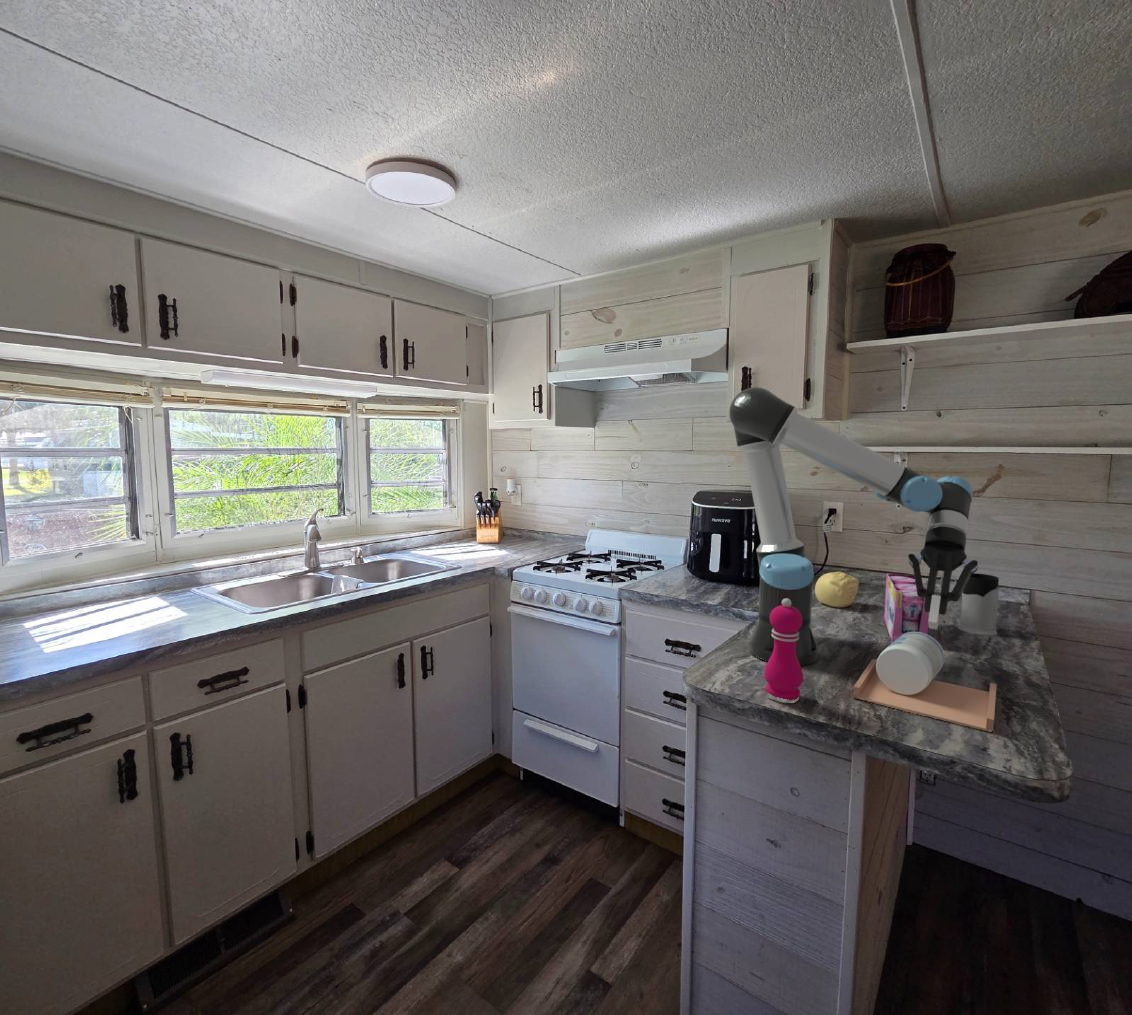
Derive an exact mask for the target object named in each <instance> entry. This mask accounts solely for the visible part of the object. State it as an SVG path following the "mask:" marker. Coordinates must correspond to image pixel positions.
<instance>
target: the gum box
mask: <svg viewBox="0 0 1132 1015" xmlns="http://www.w3.org/2000/svg"><path fill="white" fill-rule="evenodd" d="M923 588H924V589H927V586H925V585H924V584H923ZM884 598H885V599H884V616H883V618H884V622H885V625H886V628H887V631H888V633H889V636H890V639H891V642H894V641H895V640H896V639H898V638H899V637H900V636H901V635H903V634H905V633H908V632H921V633H925V634H927V635H928V630H929V625H928V619H929V613H930V612H925V610H924V604H925V598H924V597H919V596H918V595H917V589H916V583H915V577H914V574H913V575H911V574H901V573H900V574H899V573H886V579H885V597H884Z"/></svg>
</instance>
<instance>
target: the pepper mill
mask: <svg viewBox="0 0 1132 1015" xmlns="http://www.w3.org/2000/svg"><path fill="white" fill-rule="evenodd" d="M802 622H803V621H802V615H801V613H800V612H799V611H798V610H797V609H796V608H794V607H791V600H790V599H788V598H785V599H783V600H782V606H778V607H776V608H774V609H773V610H772V611H771V614H770V623H771V625H772V626H773V627H774V628H773V629H772V637H773V638H774V650H773V653H772V655H771V657H770V659H769V661H768V662H767V661H766V665H765V668H764V671H763V672H764V673H763V675H764V679H765V681H766V682H767V683H768V684H766V686H765V687H766V688H765V692H766V691H767V692H768V693H770V694H771V695H773V696H775V697H779V698H783V699H787V700H788V699H789V700H793V699H794V700H795V699H797V698H798V697H800V696H801V692H800V691H801V690H800V689H799V687H801V685H802V684H803V683H804V673H803V669H802V667H801V666H802V665H800V664H799V661H798V659H797V656H796V641H797V640H798V639H799V637H798V635H799V632H798V631H797V630H798V629H799V628H800V627H801V625H802ZM800 698H801V697H800Z"/></svg>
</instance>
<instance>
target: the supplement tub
mask: <svg viewBox="0 0 1132 1015" xmlns="http://www.w3.org/2000/svg"><path fill="white" fill-rule="evenodd" d="M876 659H877V663H876V671H877V674H878V676H879V678H880V680H881V681H882V683H883V684H884V685H885V686H886V687H888V688H889V689H890V690H892V691H894V692H896V693H899V694H904V695H913V694H916V693H919V692H921V691H922V690H924V689H925V688H926V687H927V686H928V685H929V683H930V682H931V681H932V680H934V678H936V676H937V675H938V673H939V672H940V671H941V669H942V668H943V667H944V663H945V659H946V658H945V652H944V649H943V646H942V645H941V644H940V643H939V642H938V641H937V639H936V638H934V637H932V636H931V635H929V634H928V633H927V634H925V633H921V632H908V633H905V634H903V635H901V636H900V637H899V638H898V639H896V640H895V641H892V642H891V644H889V645H888V646H887V647H886V648H885V649H884V650H882V652H881V653H880V654H879V655H878V658H876Z"/></svg>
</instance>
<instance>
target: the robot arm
mask: <svg viewBox="0 0 1132 1015" xmlns="http://www.w3.org/2000/svg"><path fill="white" fill-rule="evenodd" d="M729 406H730V407H729V419H730V422H731V424H732V426H733V431H734V436H735V439H736V440H735V441H736V446H737V449H739V450H740V451H742V452H743V453H744V455H745V460H746V467H747V471H748V472H747V473H748V478H749V484H750V489H751V493H752V494H751V495H752V501H753V505H754V509H755V510H754V511H755V512H754V513H755V516H756V517H755V518H756V523H757V526H758V527H757V528H758V532H759V533H758V534H759V539H760V544H759V545H758V546H757V548H756V556H757V561H758V567H759V590H758V593H759V594H758V596H759V597H758V598H759V599H758V600H759V601H758V619H757V623H756V625H755V628H754V630H753V633H752V635H751V637H750V638H751V639H750V641H749V652H751V653H752V654H754V655H755V656H757V657H759V658H762V659H764V660H766V661H765V662H767V661H769V659H770V657H771V655H772V653H773V650H774V638H773V637H772V629H773V628H774V627H773V626H772V625H771V623H770V614H771V611H772V610H773V609H774V608H776V607H778V606H782V600H783V599H785V598H788V599H790V600H791V607H794V608H796V609H797V610H798V611H799V612H800V613H801V615H802V621H803V622H802V625H801V627H800V628H799V629H798V630H797V631H798V632H799V635H798V637H799V639H798V640H797V641H796V656H797V659H798V661H799V664H800V666H807V665H812V664H814V663H815V662H816V661H817V660H818V646H817V643H816V639H815V636H814V634H813V628H812V627H811V625H812V623H811V621H812V600H813V580H814V577H815V576H814V575H815V573H814V565H813V563H812V562H811V560H810V559H808V558H807V556H806V551H805V546H804V542H802V541H801V540H799V539H798V538H797V537H796V529H795V526H794V520H793V515H792V508H791V503H790V498H789V497H790V496H789V492H788V487H787V481H786V476H785V471H784V465H783V459H782V454H781V452H782V451H781V449H780V446H781V445H784V446H785V447H787V448H789V449H792V450H794V451H795V452H797V453H799V454H801V455H803V456H805V457H807V458H809V459H812V460H813V461H815V462H817V463H819V464H821V465H823V466H824V467H826V468H829V469H831V470H833V471H835V472H837V473H838V474H841V475H842V476H845V477H846V478H849V479H851V480H853V481H854V482H857V483H858V484H860V485H862V486H864V487H866V488H868V489H871V490H872V491H874V493H875V496H876V497H877V498H879V499H882V500H885V501H886V502H891V503H893V504H896V505H900V506H902V507H905V508H906V509H908V510H909V511H912V512H916V513H919V512H923V513H928V514H929V516H928V522H927V529H926V533H925V534H926V535H925V540H924V545H923V548H922V549H921V550H920V553H918V554H913V553H909V554H908V563H909V566H911V568H912V570H913V575H914V577H915V583H916V589H917V595H918V596H919V597H924V598H925V604H924V610H925V612H929V614H928V629H931V630H938V627H939V620H940V615H943V616H945V615H946V614H947V609H948V604H947V603H948V602H949V603H950V602H952V601H953V602H959V600H960V598H961V597H962V592H963V590H964V588H965V586H966V584H967V582H968V580H969V578H970V576H971V575H972V574H973V573H976V572H977V571H978V568H979V562H978V561H977V560H976V559H974V560H973V559H972V560H971V559H969V558H967V554H966V552H965V551H966V544H967V543H966V542H967V534H968V529H969V528H968V527H969V518H970V510H971V505H972V501H973V496H972V495H973V492H972V489H973V488H972V485H971V484H970V483H969V481H968V480H966V479H964V478H963V477H961V476H960V477H959V476H950V475H949V476H943V477H941V478H939V479H938V480H937V481H936V479H934V478H932V477H930V476H927V475H923V474H921V473H919V472H917V471H915V470H912V469H911V468H909V467H905V465H903V464H901V463H899V462H896V461H894V460H893V459H891V458H888V457H887V456H885V455H883V454H881V453H878V452H876V451H875V450H872V449H871V448H868V447H866V446H864V445H863V444H860V443H858V442H856V441H854V440H852V439H850V438H848V437H846V436H844V435H842V434H840V433H838V432H836V431H834V430H832V429H830V428H828V427H826V426H824V425H822V424H820V423H819V422H818V423H817V422H815V421H814V420H811V419H810V418H807V417H806V416H804V415H801V414H800V413H799V412H798V409H797V407H796V406H794V405H792V404H790V403H788V402H786V401H784V400H783V399H781V397H778V396H777V395H775V394H774V393H772V392H771V391H770V390H768V389H765V388H763V387H756V386H755V387H749V388H745V389H743V390H742V391H740V392H739V393H737V395H736V396H735V397H734V398H733V400H732V402H731V403H730V405H729ZM922 561H923V562H924V563H925V564H926V566H928V568H929V572H928V579H927V583H926V584H927V586H926V588H927V589H924V588H923V585H924V584H923V579H922V573H921V567H920V565H921V563H922ZM962 565H963V569H962V571H961V573H960V575H959V577H958V579H957V583H956V582H955V584H954V587H953V589H952V591H950V587H951V582H952V580H951V579H952V577H951V576H952V575H953V572H954V571H956V570H957V569H958V568H959V567H961V566H962ZM940 571H941V572H943V576H942V577H943V580H942V589H941V591H940V595H936V594H935V591H936V583H937V577H938V575H939V574H938V573H939V572H940ZM751 653H750V654H751ZM752 654H751V655H752ZM754 655H753V656H754ZM755 656H754V657H755ZM757 657H756V658H757ZM759 658H758V659H759ZM764 660H763V661H764Z"/></svg>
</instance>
